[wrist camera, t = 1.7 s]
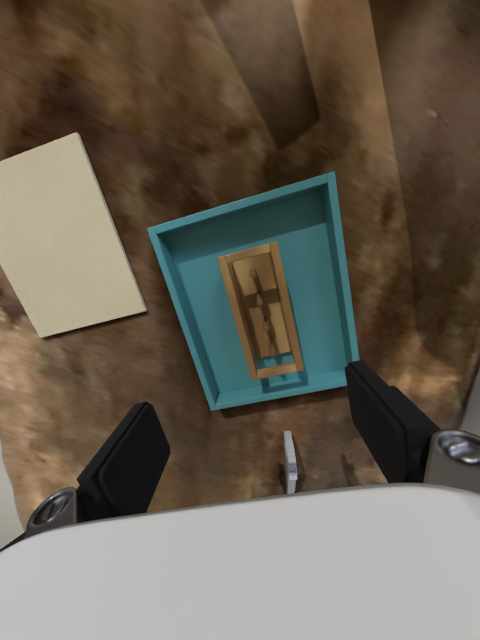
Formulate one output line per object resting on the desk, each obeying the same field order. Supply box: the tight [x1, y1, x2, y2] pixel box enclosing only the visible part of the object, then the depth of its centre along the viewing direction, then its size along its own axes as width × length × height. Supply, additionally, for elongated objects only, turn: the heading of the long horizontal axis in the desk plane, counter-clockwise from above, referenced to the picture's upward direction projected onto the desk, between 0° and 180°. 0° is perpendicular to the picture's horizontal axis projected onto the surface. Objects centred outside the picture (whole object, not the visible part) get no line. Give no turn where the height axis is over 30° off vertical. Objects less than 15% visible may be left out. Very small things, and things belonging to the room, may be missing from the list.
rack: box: [217, 241, 304, 380], centre depth 26 cm, size 6×14×5 cm, turn 15°
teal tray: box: [147, 171, 359, 411], centre depth 28 cm, size 20×24×3 cm
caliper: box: [284, 431, 297, 494], centre depth 34 cm, size 20×1×6 cm, turn 5°
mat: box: [0, 133, 147, 338], centre depth 28 cm, size 16×20×1 cm
